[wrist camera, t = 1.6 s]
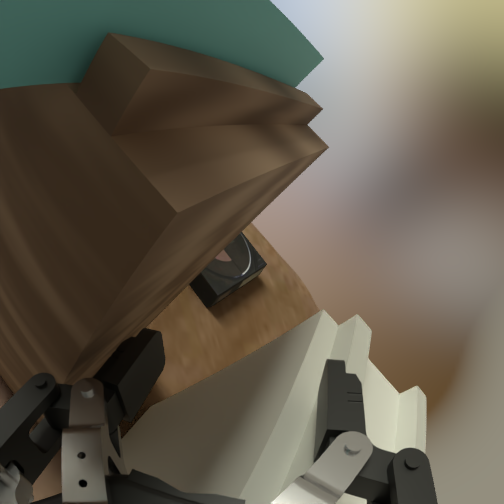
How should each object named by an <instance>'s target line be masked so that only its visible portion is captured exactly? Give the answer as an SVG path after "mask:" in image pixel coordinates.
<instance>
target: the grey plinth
mask: <svg viewBox="0 0 504 504" xmlns="http://www.w3.org/2000/svg"><path fill="white" fill-rule="evenodd" d="M370 340H371V329H370V328H369V327H368V326H367V325H366V323H365V322H364V321H363V320H362V319H361V318H360V316H359V315H358V314H357V315H355V316H354V317H352V318H350V319H349V320H347V321H346V322H344V323H342V324H341V325H339V326H338V325H337V323H336V322H335V321H334V320H333V319H332V318H331V317H330V316H329V315H328V313H327V312H326V311H325V310H324V309H323V310H321V311H320V312H318V313H317V314H315V315H313V316H312V317H310V318H309V319H307V320H306V321H304V322H302V323H301V324H299V325H298V326H296V327H294V328H293V329H291V330H290V331H288V332H286V333H285V334H283V335H281V336H280V337H278V338H276V339H275V340H273V341H271V342H270V343H268V344H266V345H265V346H263V347H261V348H260V349H258V350H256V351H254V352H253V353H251V354H249V355H247V356H246V357H244V358H242V359H240V360H239V361H237V362H235V363H233V364H232V365H230V366H228V367H226V368H224V369H222V370H221V371H219V372H217V373H215V374H213V375H211V376H210V377H208V378H206V379H204V380H202V381H200V382H198V383H196V384H194V385H192V386H190V387H189V388H187V389H185V390H183V391H181V392H179V393H177V394H175V395H173V396H171V397H169V398H167V399H165V400H163V401H160V402H158V403H156V404H154V405H152V406H150V407H149V409H148V410H147V411H146V412H145V413H144V414H143V415H142V417H141V418H140V419H139V420H138V421H137V422H136V423H135V424H134V426H133V427H132V428H131V429H130V430H129V431H128V432H127V434H126V435H125V436H124V437H123V438H122V439H121V443H122V451H123V458H124V464H125V467H126V470H127V473H128V475H129V474H130V472H131V470H132V469H135V470H137V471H140V472H143V473H145V474H148V475H151V476H154V477H157V478H159V479H161V480H162V481H164V482H166V483H167V484H169V485H171V486H173V487H174V488H176V489H178V490H180V491H182V492H185V493H199V494H218V495H223V496H227V497H232V498H238V499H243V500H246V501H245V504H270V503H271V502H273V501H274V500H275V499H276V498H277V497H278V496H279V495H280V494H281V493H282V492H283V491H284V490H285V489H286V488H287V487H288V486H289V485H290V484H291V483H292V482H293V481H294V480H295V479H296V478H297V477H299V476H300V475H304V474H305V473H306V472H307V471H308V470H309V469H310V468H311V466H312V465H313V464H314V463H315V462H313V460H314V447H315V433H316V418H317V399H318V390H319V385H320V381H321V378H322V374H323V370H324V366H325V362H326V360H327V359H335V360H344V361H345V366H346V373H352V374H356V375H357V377H358V378H359V380H360V381H361V383H362V392H363V393H362V395H363V403H364V413H365V425H366V434H367V437H368V438H369V439H370V441H371V442H372V444H373V445H375V446H376V447H378V448H380V449H382V450H386V451H390V452H393V453H398V452H399V451H400V450H402V449H405V448H416V449H419V450H421V451H422V452H424V453H425V446H426V396H425V395H424V393H423V392H422V391H421V390H420V389H419V387H418V386H415V387H413V388H411V389H409V390H407V391H405V392H403V393H401V394H399V393H398V392H397V391H396V390H395V389H394V387H393V386H392V385H391V384H390V383H389V382H388V380H387V379H386V378H385V377H384V376H383V375H382V374H381V373H380V371H379V370H378V369H377V368H376V367H375V366H374V365H373V364H372V362H371V361H370V360H369V359H368V354H369V347H370ZM336 504H367V499H363V498H360V497H356V496H353V495H350V494H346V493H344V494H343V495H342V496H341V498H340V499H339V500H338V501H337V503H336Z"/></svg>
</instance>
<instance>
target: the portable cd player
mask: <svg viewBox="0 0 504 504" xmlns="http://www.w3.org/2000/svg"><path fill="white" fill-rule="evenodd" d="M266 265H267V264H266V262H265V261H264V260H263V258H262V257H261V256H260V255H259V253H258V252H257V251H256V249H255V248H254V247H253V246H252V244H251V243H250V242H249V241H248V239H247V238H246V237H245V235H244V234H243V233H242V232H241V233H240V234H239V235H238V236H237V237H236V238H235V239H234V240H233V241H232V242H230V243H229V244H228V245H227V246H226V247H225V248H224V249H223V250H222V251H221V252H220V253H219V254H218V255H217V256H216V257H215V258H214V259H213V260H212V261H211V262H210V263H209V264H208V265H207V266H206V267H205V268H204V269H203V270H202V271H201V272H200V273H199V274H198V275H197V276H196V277H195V278H194V279H193V280H192V281H191V282H190V283H189V285H190V286H191V287H192V289H193V290H194V292H195V293H196V294H197V296H198V297H199V298H200V300H201V301H202V302H203V304H204V305H205V306H206V307H211V306H213V305H214V304H216V303H217V302H219V301H221V300H222V299H224V298H225V297H227V296H228V295H230V294H231V293H233V292H234V291H236V290H237V289H239V288H240V287H242V286H243V285H245V284H246V283H248V282H249V281H251V280H252V279H253V278H255V277H256V276H258V275H259V274H260V273H261V272H262V270H263V269H264V268H265V266H266Z"/></svg>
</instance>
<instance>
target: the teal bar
mask: <svg viewBox="0 0 504 504" xmlns="http://www.w3.org/2000/svg"><path fill="white" fill-rule="evenodd" d="M108 32H109V33H116V34H121V35H127V36H132V37H137V38H142V39H146V40H151V41H155V42H160V43H164V44H168V45H172V46H176V47H180V48H183V49H187V50H191V51H194V52H197V53H201V54H204V55H207V56H211V57H214V58H217V59H220V60H223V61H226V62H229V63H232V64H235V65H238V66H241V67H243V68H246V69H249V70H252V71H254V72H257V73H260V74H262V75H265V76H267V77H270V78H272V79H275V80H277V81H280V82H282V83H284V84H287V85H289V86H291V87H294V88H295V87H296V86H297V85H298V84H299V83H300V82H301V81H302V80H303V79H304V78H305V77H306V76H307V75H308V74H309V73H310V72H311V71H312V70H313V69H314V68H315V67H316V66H317V65H318V64H319V63H320V62H321V61H322V60H323V59H324V58H323V57H322V56H321V55H320V53H319V52H318V51H317V50H316V49H315V48H314V46H313V45H312V44H311V43H310V42H309V41H308V40H307V39H306V37H305V36H304V35H303V34H302V33H301V32H300V31H299V30H298V29H297V28H296V27H295V26H294V25H293V23H291V21H290V20H288V18H287V17H286V16H285V15H284V14H283V13H282V12H281V11H280V10H279V9H278V8H277V7H276V6H275V5H274V4H272V2H271V1H270V0H0V89H3V88H11V87H20V86H29V85H41V84H56V83H81V82H82V80H83V77H84V75H85V73H86V71H87V69H88V68H89V66H90V64H91V62H92V60H93V58H94V56H95V54H96V53H97V51H98V49H99V47H100V45H101V44H102V42H103V40H104V38H105V37H106V35H107V33H108Z"/></svg>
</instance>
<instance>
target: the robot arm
mask: <svg viewBox="0 0 504 504" xmlns="http://www.w3.org/2000/svg"><path fill="white" fill-rule="evenodd" d="M164 365H165V354H164V347H163V340H162V334H161V332H160V331H156V330H151V329H147V328H143V329H142V330H141V331H140V332H139V333H138V335H137V336H136V337H132V336H131V337H129V338H128V339H126V340H124V341H123V342H122V343H121V344H120V345H119V346H118V347H117V349H116V351H114V352H113V353H112V355H111V357H109V358H108V359H107V361H106V362H105V363H104V364H103V366H102V367H101V368H100V369H99V370H98V372H97V373H96V374H95V375H94V377H93V378H83V379H81V380H79V381H77V382H76V383H75V384H74V385H67V384H59V383H57V382H56V380H55V378H54V376H53V375H51V374H49V373H38V374H36V375H34V376H33V377H31V378H30V379H29V380H28V381H27V382H26V383H25V384H24V385H23V386H22V387H21V388H20V389H19V390H18V391H17V392H16V393H15V394H14V395H13V396H12V397H11V398H10V399H9V400H8V401H7V402H6V403H5V405H4V406H3V407H2V408H1V409H0V504H245V501H246V500H243V499H238V498H232V497H227V496H223V495H218V494H199V493H185V492H182V491H180V490H178V489H176V488H174V487H173V486H171V485H169V484H167V483H166V482H164V481H162V480H161V479H159V478H157V477H154V476H151V475H148V474H145V473H143V472H140V471H137V470H135V469H132V470H131V472H130V474H129V475H128V473H127V470H126V467H125V464H124V458H123V451H122V443H121V434H120V427H119V424H120V422H121V420H125V421H127V422H130V423H131V422H132V420H133V419H134V417H135V415H136V414H137V412H138V410H139V409H140V407H141V405H142V404H143V402H144V400H145V399H146V397H147V395H148V394H149V392H150V390H151V389H152V387H153V385H154V384H155V382H156V381H157V379H158V377H159V376H160V374H161V372H162V371H163V368H164ZM362 393H363V392H362V383H361V381H360V380H359V378H358V377H357V375H356V374H352V373H346V366H345V361H344V360H335V359H327V360H326V362H325V366H324V370H323V374H322V378H321V381H320V385H319V390H318V399H317V418H316V433H315V447H314V460H313V462H315V463H314V464H313V465H312V466H311V468H310V469H309V470H308V471H307V472H306V473H305V474H304V475H300V476H299V477H297V478H296V479H295V480H294V481H293V482H292V483H291V484H290V485H289V486H288V487H287V488H286V489H285V490H284V491H283V492H282V493H281V494H280V495H279V496H278V497H277V498H276V499H275V500H274V501H273V502H271V503H270V504H336V503H337V501H338V500H339V499H340V498H341V496H342V495H343V494H344V493H346V494H350V495H353V496H356V497H360V498H363V499H367V504H438V503H437V498H436V493H435V487H434V482H433V477H432V473H431V469H430V464H429V460H428V458H427V456H426V454H425V453H424V452H422V451H421V450H419V449H416V448H405V449H402V450H400V451H399V452H398V453H393V452H390V451H386V450H382V449H380V448H378V447H376V446H375V445H373V444H372V442H371V441H370V439H369V438H368V437H367V434H366V425H365V413H364V403H363V395H362ZM42 414H43V416H44V418H43V419H42V420H41V422H40V423H39V424H38V425H37V426H36V427H35V429H34V430H33V431H32V432H31V433H30V434H29V430H30V428H31V427H32V426H33V425H34V423H35V422H36V421H37V420H38V419H39V418H40V417H41V415H42ZM61 446H62V493H60V494H57V495H54V496H51V497H48V498H45V499H42V500H39V501H35V502H32V501H33V500H34V496H33V494H32V493H33V488H32V485H33V483H34V482H35V481H36V479H37V478H38V477H39V475H40V474H41V473H42V471H43V470H44V469H45V467H46V466H47V465H48V463H49V462H50V461H51V459H52V458H53V457H54V456H55V454H56V453H57V452H58V450H59V449H60V448H61ZM31 502H32V503H31Z"/></svg>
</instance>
